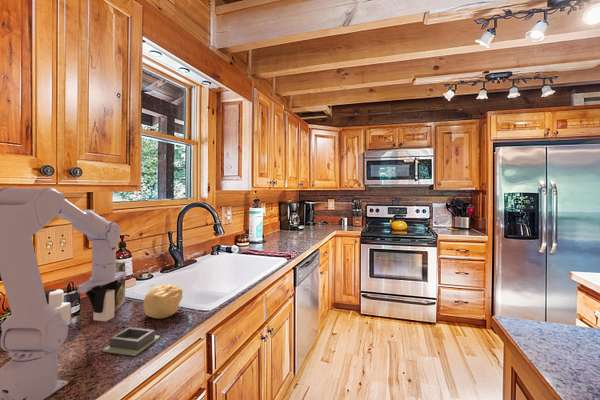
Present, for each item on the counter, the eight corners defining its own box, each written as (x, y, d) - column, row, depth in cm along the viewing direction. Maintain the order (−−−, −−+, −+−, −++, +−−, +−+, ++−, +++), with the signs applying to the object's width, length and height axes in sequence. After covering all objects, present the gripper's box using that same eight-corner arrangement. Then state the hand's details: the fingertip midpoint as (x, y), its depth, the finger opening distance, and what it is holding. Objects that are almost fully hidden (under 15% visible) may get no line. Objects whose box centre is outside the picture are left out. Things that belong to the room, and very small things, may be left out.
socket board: (135, 355, 77) (135, 344, 77) (102, 351, 79) (103, 340, 79) (160, 337, 87) (160, 327, 87) (130, 334, 89) (130, 324, 89)
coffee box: (107, 303, 113) (108, 262, 113) (125, 302, 114) (126, 261, 114) (95, 312, 104) (96, 267, 104) (115, 311, 106) (115, 267, 105)
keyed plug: (105, 321, 82) (106, 293, 82) (91, 319, 82) (91, 291, 82) (114, 317, 85) (114, 289, 85) (100, 315, 85) (100, 288, 85)
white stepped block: (29, 333, 88) (29, 294, 88) (48, 323, 95) (49, 287, 95) (53, 334, 88) (53, 294, 88) (71, 323, 95) (71, 287, 95)
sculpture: (165, 324, 96) (165, 291, 96) (135, 319, 99) (136, 288, 99) (187, 311, 107) (187, 282, 107) (160, 307, 110) (160, 279, 110)
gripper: (112, 257, 91) (111, 300, 91) (68, 268, 77) (67, 319, 77) (132, 258, 90) (131, 301, 90) (90, 269, 76) (90, 321, 76)
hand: (103, 309), depth 83 cm, fingers closed on keyed plug, 3 cm apart
